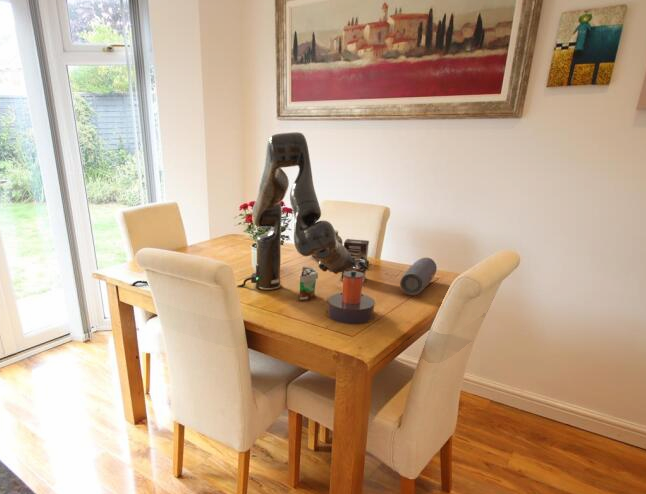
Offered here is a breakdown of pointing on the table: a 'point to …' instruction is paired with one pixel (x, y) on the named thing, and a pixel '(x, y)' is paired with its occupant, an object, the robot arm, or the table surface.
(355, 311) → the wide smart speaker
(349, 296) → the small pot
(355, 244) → the coffee box
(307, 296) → the food container
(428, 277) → the bluetooth speaker
